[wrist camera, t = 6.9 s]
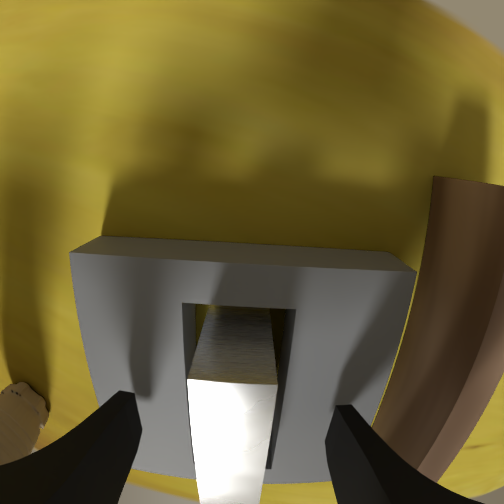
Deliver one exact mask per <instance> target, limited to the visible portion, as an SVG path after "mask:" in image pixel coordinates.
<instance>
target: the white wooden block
mask: <svg viewBox="0 0 504 504" xmlns="http://www.w3.org/2000/svg"><path fill="white" fill-rule="evenodd" d="M277 387H278V383H277V373H276V364H275V354H274V345H273V336H272V327H271V318H270V309H269V308H258V307H240V306H224V305H209V308H208V311H207V314H206V318H205V321H204V324H203V328H202V331H201V334H200V338H199V341H198V345H197V348H196V351H195V355H194V358H193V362H192V365H191V369H190V372H189V376H188V394H189V407H190V419H191V430H192V440H193V450H194V459H195V467H196V476H197V484H198V491H199V498H200V504H259V501H260V496H261V490H262V484H263V478H264V472H265V466H266V460H267V454H268V448H269V442H270V435H271V428H272V422H273V415H274V408H275V401H276V394H277Z"/></svg>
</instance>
